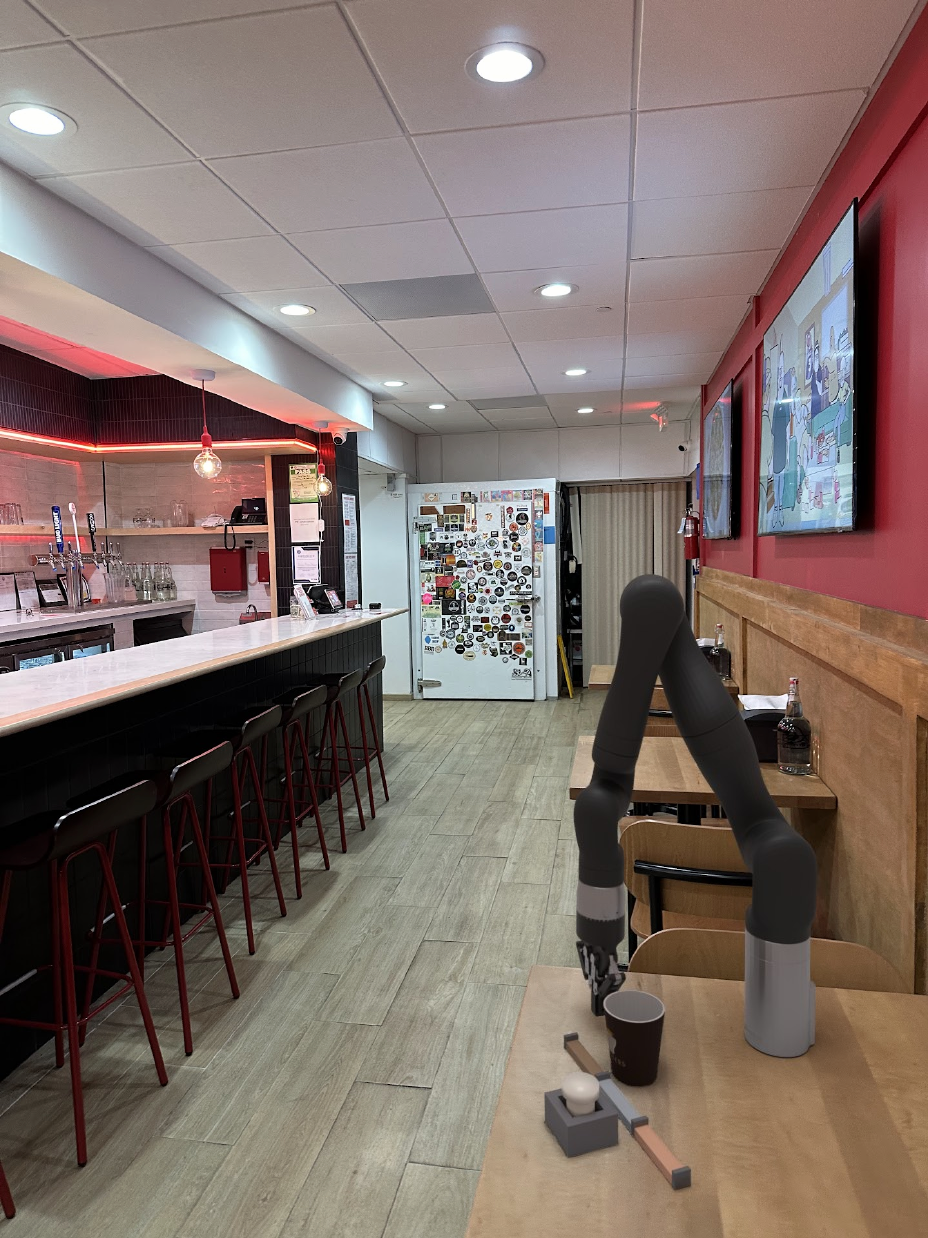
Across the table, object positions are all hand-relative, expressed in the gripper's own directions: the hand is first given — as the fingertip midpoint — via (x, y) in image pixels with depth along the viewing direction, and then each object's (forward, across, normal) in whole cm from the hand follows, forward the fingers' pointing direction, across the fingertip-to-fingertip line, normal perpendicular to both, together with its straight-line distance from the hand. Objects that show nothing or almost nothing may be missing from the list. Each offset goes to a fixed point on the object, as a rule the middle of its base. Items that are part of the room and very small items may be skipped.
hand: (599, 1013), depth 130 cm
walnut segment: (+2, -8, +6) cm, 11 cm away
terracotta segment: (+2, -28, +6) cm, 29 cm away
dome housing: (+2, -21, +13) cm, 25 cm away
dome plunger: (+1, -21, +13) cm, 25 cm away
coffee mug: (+2, -11, 0) cm, 11 cm away
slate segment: (+2, -18, +6) cm, 19 cm away
